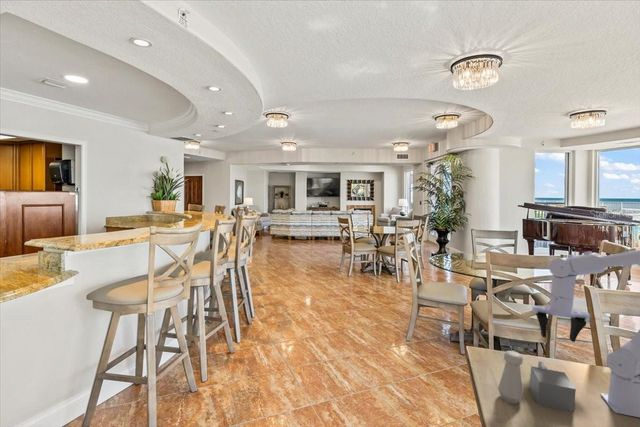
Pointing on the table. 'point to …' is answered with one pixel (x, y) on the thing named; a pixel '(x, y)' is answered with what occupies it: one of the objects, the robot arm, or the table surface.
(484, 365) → the table surface
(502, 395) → the salt shaker
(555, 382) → the grey block with fin
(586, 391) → the table surface
